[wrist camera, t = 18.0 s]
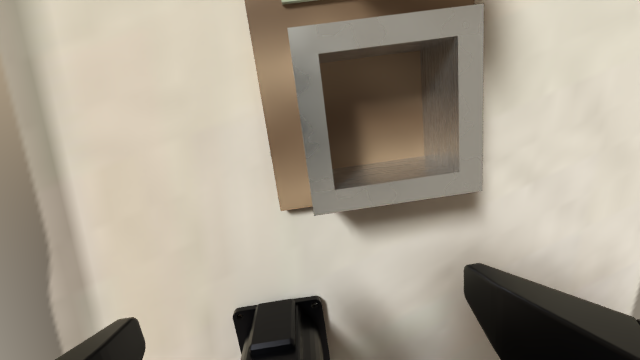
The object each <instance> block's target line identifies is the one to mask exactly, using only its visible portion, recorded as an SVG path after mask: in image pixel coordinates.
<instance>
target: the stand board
mask: <svg viewBox="0 0 640 360" xmlns="http://www.w3.org/2000/svg"><path fill="white" fill-rule="evenodd" d="M468 5H474V0H245V6H246V11H247V17H248V23H249V29H250V35H251V41H252V46H253V52H254V58H255V64H256V70H257V76H258V81H259V87H260V93H261V99H262V105H263V111H264V116H265V122H266V128H267V134H268V140H269V145H270V151H271V157H272V163H273V169H274V175H275V180H276V186H277V192H278V198H279V204H280V210H281V211H284V210H291V209H298V208H305V207H312V206H313V205H312V198H311V192H310V185H309V178H308V171H307V164H306V157H305V150H304V143H303V136H302V129H301V122H300V115H299V108H298V100H297V93H296V86H295V79H294V72H293V65H292V58H291V51H290V44H289V37H288V29H287V28H291V27H299V26H307V25H315V24H323V23H331V22H339V21H347V20H355V19H363V18H371V17H379V16H387V15H395V14H403V13H411V12H419V11H427V10H435V9H443V8H451V7H459V6H468ZM319 64H320V73H321V81H322V89H323V97H324V106H325V114H326V122H327V130H328V139H329V147H330V155H331V163H332V169H336V168H343V167H350V166H357V165H365V164H372V163H379V162H386V161H393V160H400V159H407V158H414V157H421V156H424V132H423V108H422V83H421V59H420V50H419V51H411V52H403V53H396V54H388V55H380V56H373V57H365V58H357V59H349V60H342V61H334V62H326V63H319Z"/></svg>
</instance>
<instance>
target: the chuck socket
mask: <svg viewBox="0 0 640 360" xmlns="http://www.w3.org/2000/svg"><path fill="white" fill-rule="evenodd" d="M287 29H288V37H289V44H290V51H291V58H292V65H293V72H294V79H295V86H296V93H297V100H298V108H299V115H300V122H301V129H302V136H303V143H304V150H305V157H306V164H307V171H308V178H309V185H310V192H311V198H312V205H313V212H314V216H316V215H323V214H329V213H336V212H343V211H350V210H357V209H363V208H370V207H377V206H384V205H391V204H397V203H404V202H411V201H418V200H425V199H431V198H438V197H445V196H452V195H459V194H465V193H472V192H479V191H482V161H483V42H484V4H476V5H468V6H459V7H451V8H443V9H435V10H427V11H419V12H411V13H403V14H395V15H387V16H379V17H371V18H363V19H355V20H347V21H339V22H331V23H323V24H315V25H307V26H299V27H291V28H287ZM419 50H420V59H421V83H422V108H423V132H424V156H421V157H414V158H407V159H400V160H393V161H386V162H379V163H372V164H365V165H357V166H350V167H343V168H336V169H332V163H331V155H330V147H329V139H328V130H327V122H326V114H325V106H324V97H323V89H322V81H321V73H320V64H319V63H326V62H334V61H342V60H349V59H357V58H365V57H373V56H380V55H388V54H396V53H403V52H411V51H419Z"/></svg>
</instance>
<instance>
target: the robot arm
mask: <svg viewBox="0 0 640 360" xmlns="http://www.w3.org/2000/svg"><path fill="white" fill-rule="evenodd" d="M464 295H465V298H466V300H467V302H468V304H469V306H470V307H471V309H472V311H473V313H474V315H475V316H476V318H477V320H478V322H479V323H480V325H481V327H482V329H483V331H484V332H485V334H486V336H487V338H488V340H489V341H490V343H491V345H492V346H493V348H494V350H495V351H496V353H497V354H498V356H499V357H500V359H501V360H640V319H637V320H636V319H635V318H634V317H632V316H629V315H626V314H623V313H620V312H618V311H615V310H612V309H609V308H606V307H603V306H600V305H598V304H595V303H592V302H589V301H586V300H583V299H581V298H578V297H575V296H572V295H569V294H566V293H564V292H561V291H558V290H555V289H552V288H549V287H546V286H544V285H541V284H538V283H535V282H532V281H529V280H527V279H524V278H521V277H518V276H515V275H512V274H510V273H507V272H504V271H501V270H498V269H495V268H493V267H490V266H487V265H484V264H481V263H476V264H470V265H466V266H465V267H464ZM314 302H316V303H317V304H316V305H313V304H312V303H314ZM238 314H241V315H243V316H238ZM233 321H234V325H235V329H236V333H237V338H238V342H239V346H240V350H241V354H242V356H241V360H330V357H329V350H328V343H327V336H326V329H325V323H324V316H323V309H322V302H321V299H320V298H319V297H317V296H311V297H305V298H298V299H288V300H282V301H275V302H269V303H262V304H259V305H254V306H247V307H241V308H237V309H236V310H235V311H234V314H233ZM144 352H145V340H144V337H143V334H142V331H141V328H140V325H139V322H138V320H137V319H136V318H134V317H131V318H124V319H119V320H117V321H115V322H114V323H112V324H110V325H109V326H107V327H106V328H104V329H103V330H101V331H99V332H98V333H96V334H95V335H93V336H92V337H90V338H88V339H87V340H85V341H84V342H82V343H81V344H79V345H77V346H76V347H74V348H73V349H71V350H70V351H68V352H66V353H65V354H63V355H62V356H60V357H59V358H57V359H55V360H142V358H143V356H144Z"/></svg>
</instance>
